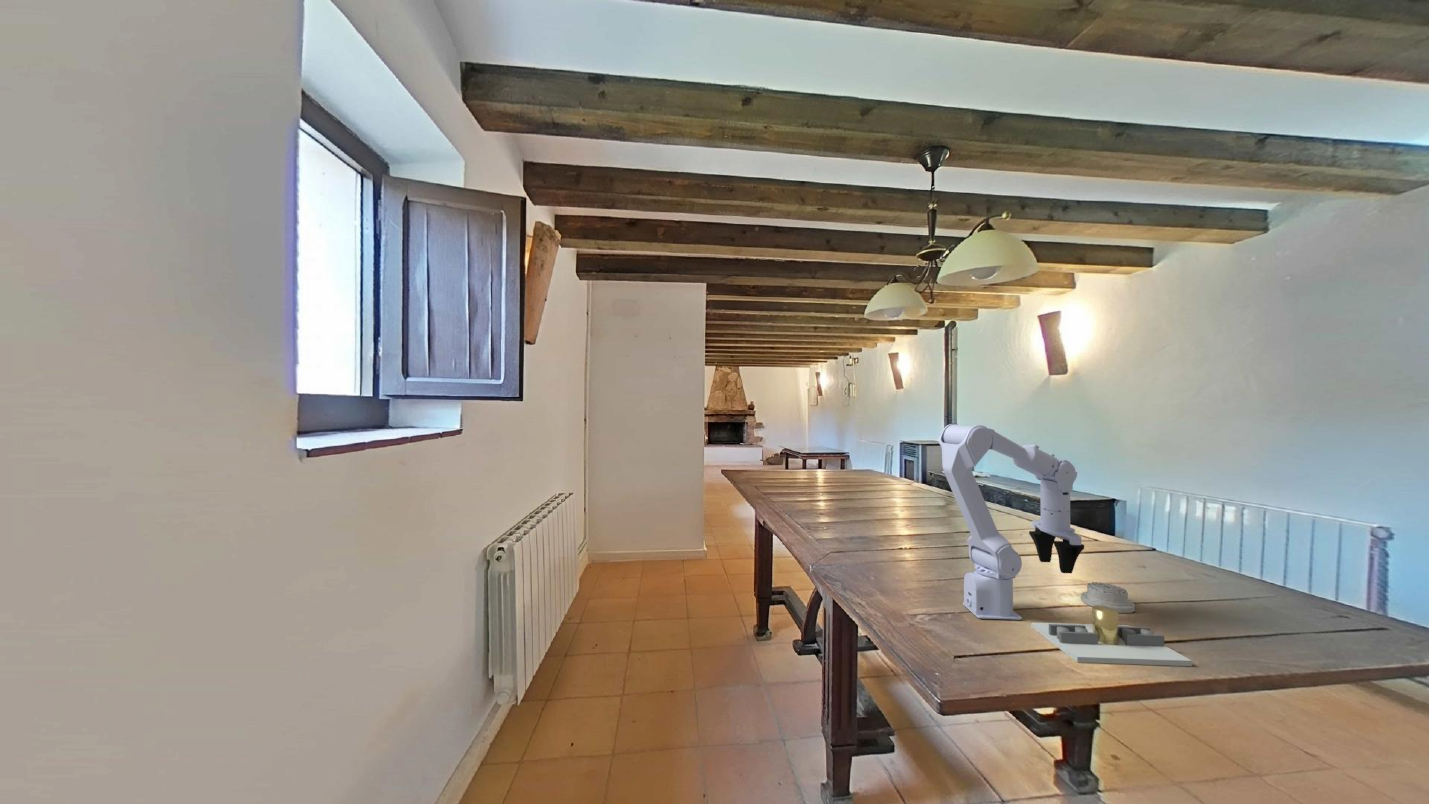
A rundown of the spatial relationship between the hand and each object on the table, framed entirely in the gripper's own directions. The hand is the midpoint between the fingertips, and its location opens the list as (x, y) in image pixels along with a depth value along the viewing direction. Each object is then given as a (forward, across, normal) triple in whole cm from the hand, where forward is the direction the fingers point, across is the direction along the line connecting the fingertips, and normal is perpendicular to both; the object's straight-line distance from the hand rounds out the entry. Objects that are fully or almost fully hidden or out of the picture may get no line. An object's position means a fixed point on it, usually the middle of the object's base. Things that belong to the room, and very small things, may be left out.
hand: (1055, 567), depth 112 cm
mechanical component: (+10, +3, -14) cm, 17 cm away
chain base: (+9, -18, +2) cm, 20 cm away
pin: (+8, -18, +2) cm, 20 cm away
